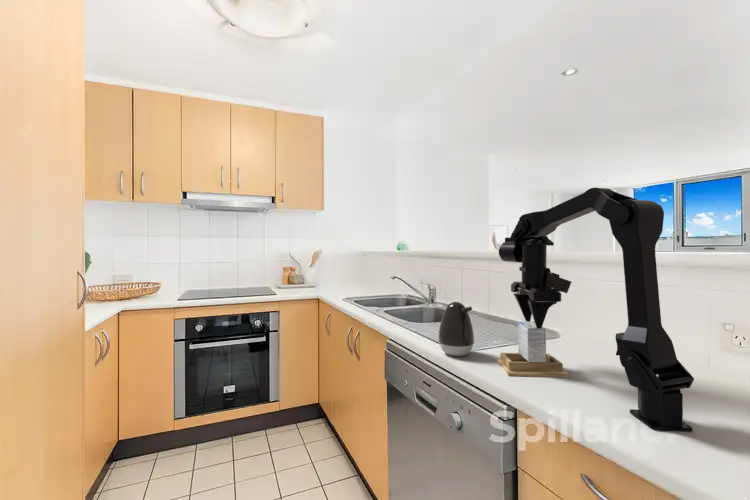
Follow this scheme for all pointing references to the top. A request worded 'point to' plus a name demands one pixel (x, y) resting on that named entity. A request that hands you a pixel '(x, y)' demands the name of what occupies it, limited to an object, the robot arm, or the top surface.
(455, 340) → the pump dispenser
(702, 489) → the top surface
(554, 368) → the box
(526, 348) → the medicine box
